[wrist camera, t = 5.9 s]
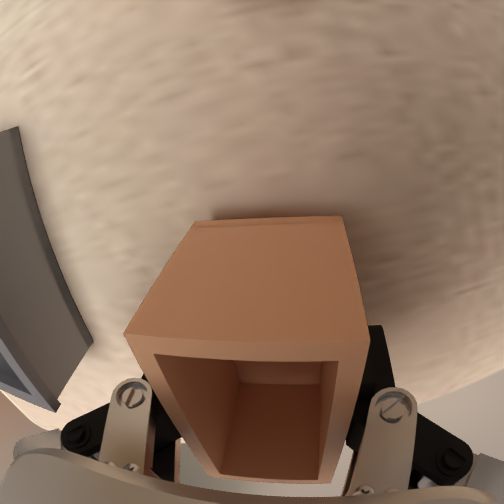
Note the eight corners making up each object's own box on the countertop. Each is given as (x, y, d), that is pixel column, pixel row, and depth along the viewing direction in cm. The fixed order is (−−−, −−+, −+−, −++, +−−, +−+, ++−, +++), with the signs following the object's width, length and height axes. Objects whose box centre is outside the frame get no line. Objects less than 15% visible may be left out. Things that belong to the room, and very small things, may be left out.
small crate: (341, 215, 9) (370, 339, 5) (330, 381, 13) (330, 483, 9) (195, 221, 10) (123, 333, 6) (232, 380, 14) (209, 476, 10)
